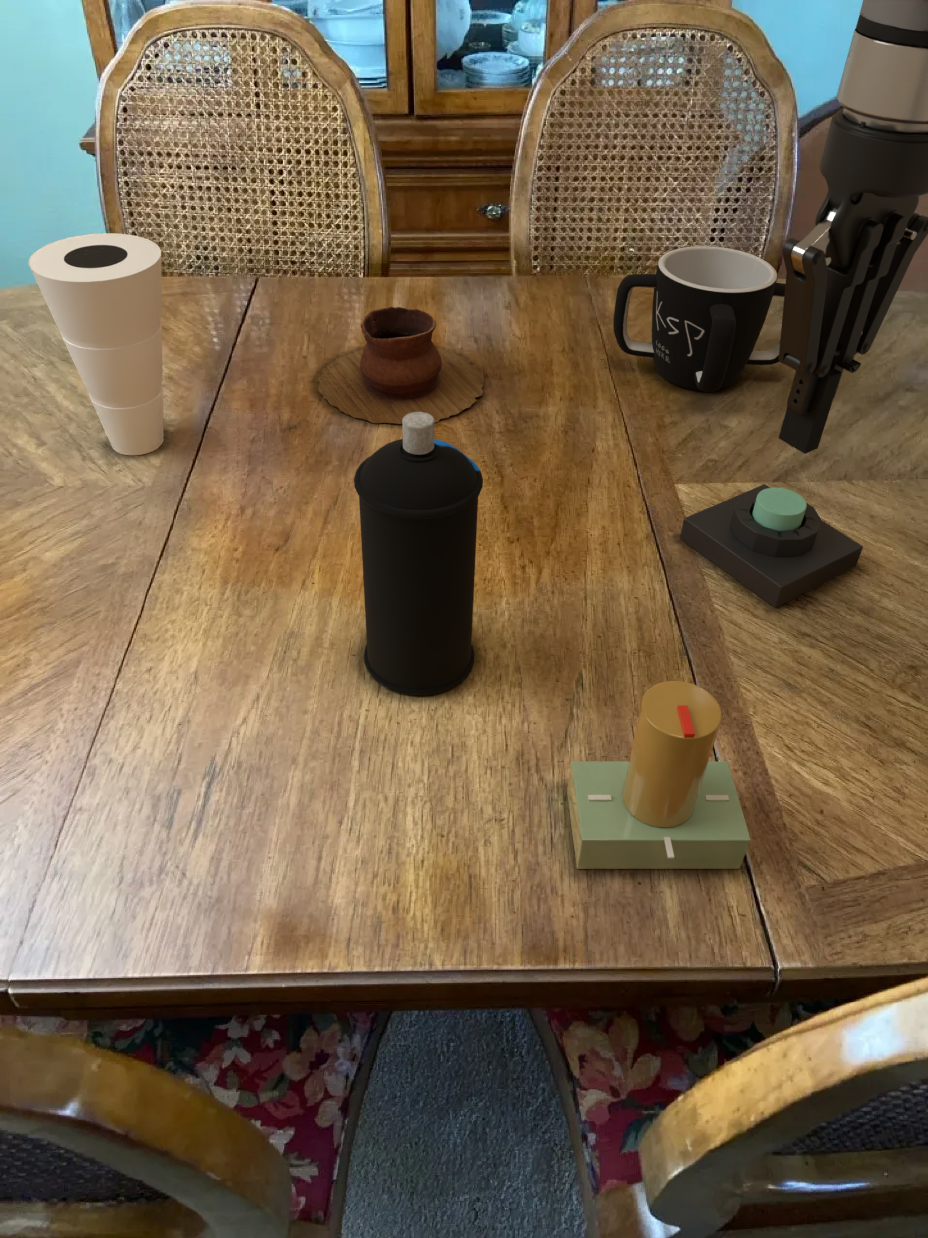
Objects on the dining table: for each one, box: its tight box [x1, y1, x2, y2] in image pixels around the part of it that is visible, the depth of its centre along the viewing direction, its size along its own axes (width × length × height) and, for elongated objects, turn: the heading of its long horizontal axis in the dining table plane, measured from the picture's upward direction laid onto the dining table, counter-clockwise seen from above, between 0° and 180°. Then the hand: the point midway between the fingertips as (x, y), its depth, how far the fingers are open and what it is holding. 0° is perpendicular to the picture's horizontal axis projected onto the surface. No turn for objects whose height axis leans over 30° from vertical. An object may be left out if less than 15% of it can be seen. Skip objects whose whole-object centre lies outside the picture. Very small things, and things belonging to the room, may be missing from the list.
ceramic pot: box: [316, 306, 486, 425], centre depth 101 cm, size 18×18×7 cm
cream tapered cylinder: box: [28, 232, 164, 456], centre depth 87 cm, size 11×11×18 cm
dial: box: [622, 680, 723, 828], centre depth 56 cm, size 4×4×8 cm
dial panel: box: [566, 760, 752, 870], centre depth 60 cm, size 10×9×3 cm
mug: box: [612, 245, 786, 393], centre depth 103 cm, size 16×16×12 cm
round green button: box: [752, 487, 807, 531], centre depth 80 cm, size 4×4×2 cm
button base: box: [679, 483, 864, 609], centre depth 81 cm, size 11×10×4 cm
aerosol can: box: [353, 412, 484, 696], centre depth 65 cm, size 8×8×20 cm
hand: (798, 442), depth 76 cm, fingers closed
